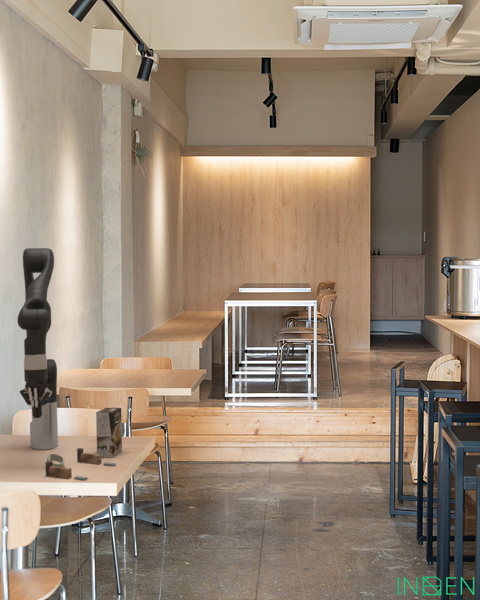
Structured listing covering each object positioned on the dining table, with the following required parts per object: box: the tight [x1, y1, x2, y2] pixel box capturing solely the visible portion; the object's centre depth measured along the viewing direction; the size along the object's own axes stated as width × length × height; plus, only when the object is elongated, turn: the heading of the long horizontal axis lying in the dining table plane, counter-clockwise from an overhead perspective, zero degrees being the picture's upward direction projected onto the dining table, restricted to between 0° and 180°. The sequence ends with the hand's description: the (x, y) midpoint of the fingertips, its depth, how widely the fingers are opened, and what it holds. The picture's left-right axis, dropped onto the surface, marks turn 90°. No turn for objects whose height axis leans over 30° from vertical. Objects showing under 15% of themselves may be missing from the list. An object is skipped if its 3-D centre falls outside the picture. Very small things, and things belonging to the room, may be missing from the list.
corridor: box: [45, 447, 102, 480], centre depth 216 cm, size 9×18×4 cm, turn 157°
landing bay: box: [74, 461, 117, 482], centre depth 212 cm, size 4×18×1 cm, turn 157°
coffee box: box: [95, 407, 123, 458], centre depth 234 cm, size 9×6×16 cm
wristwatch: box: [46, 453, 66, 467], centre depth 218 cm, size 9×6×5 cm
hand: (37, 417), depth 221 cm, fingers closed
